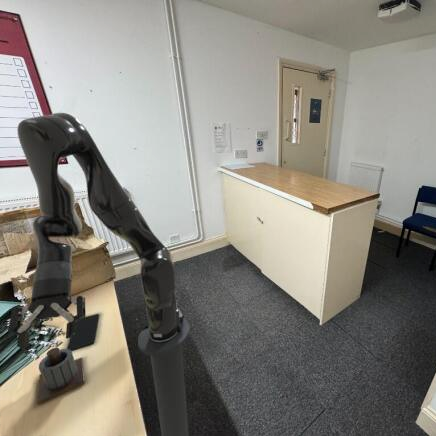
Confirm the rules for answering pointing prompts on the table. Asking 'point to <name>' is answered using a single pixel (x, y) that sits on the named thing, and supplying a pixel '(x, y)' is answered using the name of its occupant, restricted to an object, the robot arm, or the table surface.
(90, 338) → the smartphone
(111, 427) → the table surface
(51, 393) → the peg stand
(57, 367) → the grey ribbed hollow cylinder
